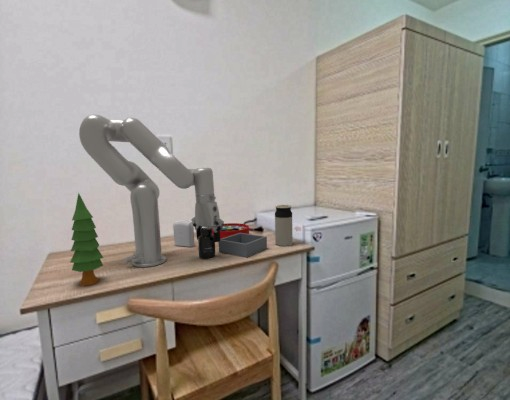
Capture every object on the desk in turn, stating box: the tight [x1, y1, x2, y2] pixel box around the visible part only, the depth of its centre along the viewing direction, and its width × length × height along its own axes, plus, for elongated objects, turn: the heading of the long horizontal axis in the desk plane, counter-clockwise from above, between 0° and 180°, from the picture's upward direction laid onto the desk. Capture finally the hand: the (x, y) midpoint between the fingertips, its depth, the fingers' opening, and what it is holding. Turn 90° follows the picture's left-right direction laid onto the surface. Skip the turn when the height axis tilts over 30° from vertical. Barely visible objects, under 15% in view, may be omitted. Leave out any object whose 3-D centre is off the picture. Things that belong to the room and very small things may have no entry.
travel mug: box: [274, 204, 294, 247], centre depth 139 cm, size 8×8×18 cm
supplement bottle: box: [197, 227, 216, 260], centre depth 123 cm, size 7×7×12 cm
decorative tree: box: [69, 192, 104, 287], centre depth 99 cm, size 10×9×30 cm
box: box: [217, 233, 268, 259], centre depth 131 cm, size 15×15×6 cm
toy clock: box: [210, 222, 250, 239], centre depth 155 cm, size 20×6×20 cm
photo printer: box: [172, 219, 195, 248], centre depth 141 cm, size 10×4×12 cm, turn 63°
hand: (208, 240), depth 123 cm, fingers open, 9 cm apart
